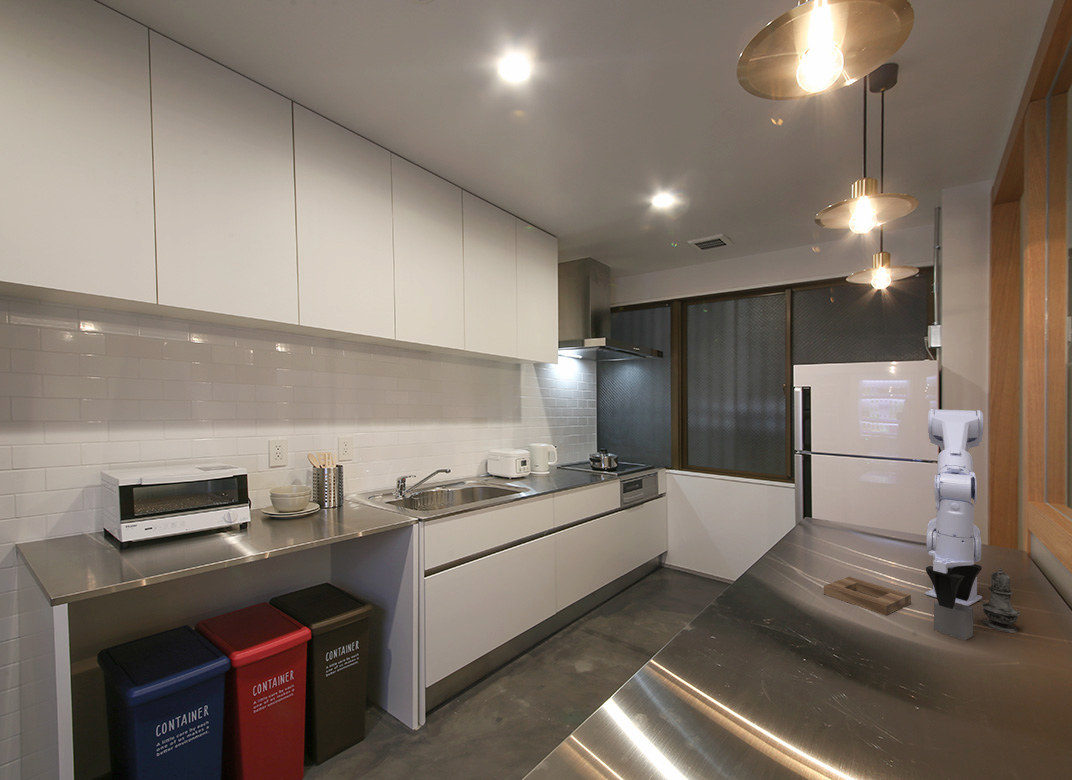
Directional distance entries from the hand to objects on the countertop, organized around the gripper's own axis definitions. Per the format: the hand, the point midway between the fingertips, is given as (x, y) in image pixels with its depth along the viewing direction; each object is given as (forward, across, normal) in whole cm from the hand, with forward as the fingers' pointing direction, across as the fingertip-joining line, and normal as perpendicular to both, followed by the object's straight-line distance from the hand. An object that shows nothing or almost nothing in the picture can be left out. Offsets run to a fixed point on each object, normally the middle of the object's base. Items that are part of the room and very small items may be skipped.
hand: (953, 602), depth 99 cm
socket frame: (+6, -3, -17) cm, 18 cm away
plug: (+6, 0, 0) cm, 6 cm away
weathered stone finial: (+6, -12, +4) cm, 14 cm away
